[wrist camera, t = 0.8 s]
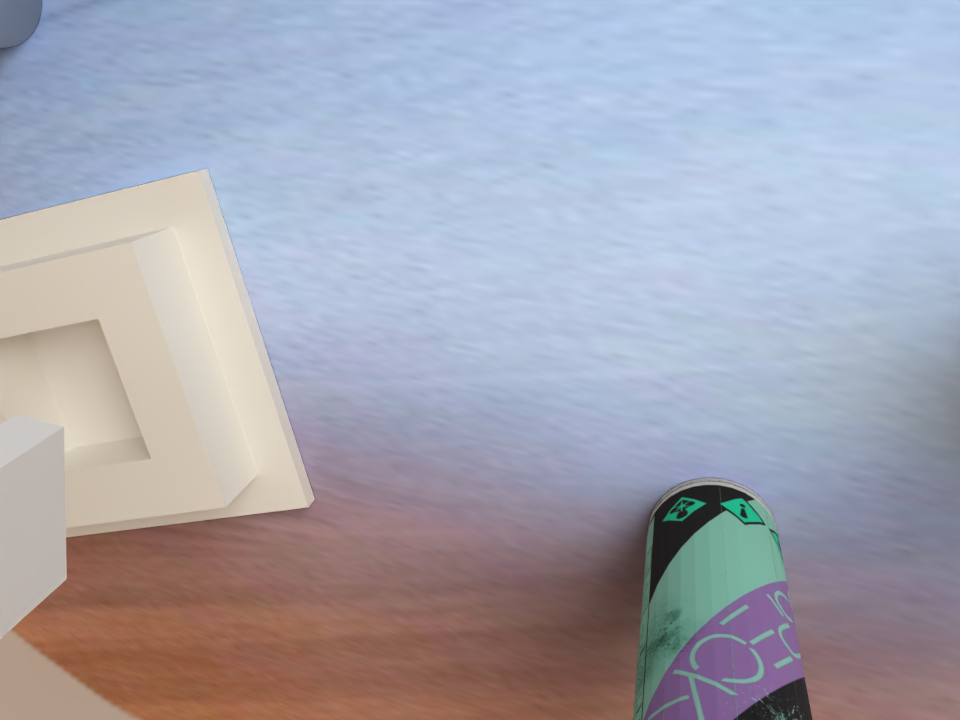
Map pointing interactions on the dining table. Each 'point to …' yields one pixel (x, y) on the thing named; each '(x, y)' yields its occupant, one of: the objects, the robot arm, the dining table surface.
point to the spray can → (716, 611)
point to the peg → (18, 20)
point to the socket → (144, 359)
